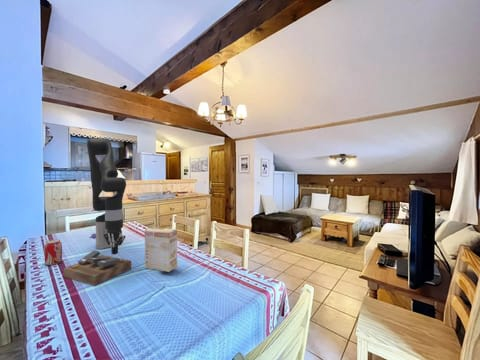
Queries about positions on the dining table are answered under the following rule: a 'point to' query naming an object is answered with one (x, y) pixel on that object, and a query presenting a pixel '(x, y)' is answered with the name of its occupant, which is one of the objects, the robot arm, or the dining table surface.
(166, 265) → the coffeecake box
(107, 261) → the rocker
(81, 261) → the rocker
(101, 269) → the switch unit
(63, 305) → the dining table surface
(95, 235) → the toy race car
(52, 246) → the soda can
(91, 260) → the rocker
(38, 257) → the dining table surface
